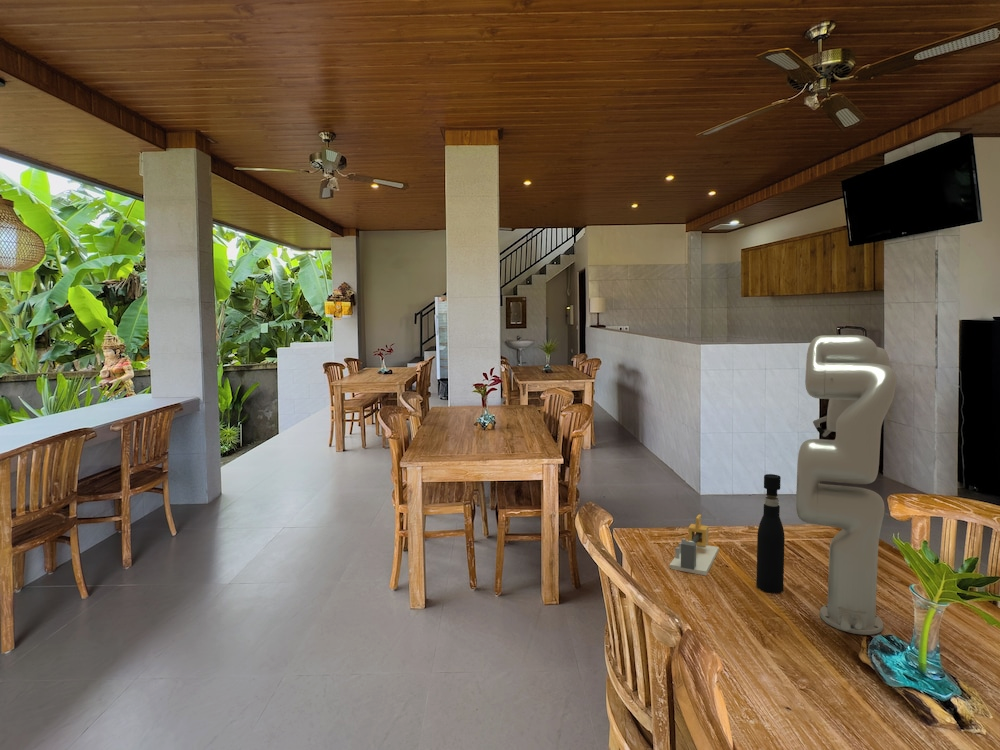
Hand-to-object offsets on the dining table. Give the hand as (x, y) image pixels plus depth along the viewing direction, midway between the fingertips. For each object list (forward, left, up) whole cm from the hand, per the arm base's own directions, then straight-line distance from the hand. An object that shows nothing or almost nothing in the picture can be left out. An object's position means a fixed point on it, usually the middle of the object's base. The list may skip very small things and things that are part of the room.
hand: (845, 450), depth 171 cm
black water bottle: (-34, +17, -32) cm, 50 cm away
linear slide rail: (-24, +38, -31) cm, 55 cm away
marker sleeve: (-20, +38, -28) cm, 51 cm away
